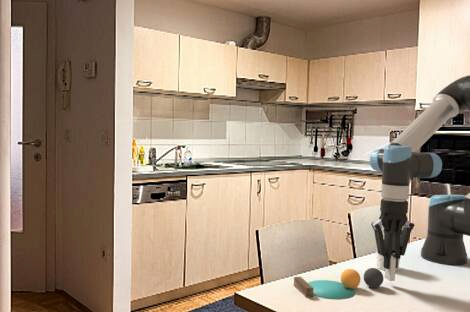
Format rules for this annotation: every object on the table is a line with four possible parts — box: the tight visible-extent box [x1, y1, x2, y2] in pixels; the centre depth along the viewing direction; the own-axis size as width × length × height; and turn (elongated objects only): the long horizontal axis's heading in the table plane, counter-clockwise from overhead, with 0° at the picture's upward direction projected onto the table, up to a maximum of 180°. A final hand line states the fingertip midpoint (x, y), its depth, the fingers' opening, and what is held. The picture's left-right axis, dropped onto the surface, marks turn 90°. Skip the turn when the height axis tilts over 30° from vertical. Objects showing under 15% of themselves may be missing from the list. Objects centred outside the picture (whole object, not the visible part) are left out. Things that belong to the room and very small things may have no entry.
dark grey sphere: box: [363, 267, 384, 289], centre depth 131 cm, size 6×6×6 cm
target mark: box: [307, 279, 356, 300], centre depth 128 cm, size 14×14×1 cm
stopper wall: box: [293, 276, 314, 298], centre depth 126 cm, size 2×9×2 cm, turn 14°
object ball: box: [340, 268, 361, 290], centre depth 129 cm, size 6×6×6 cm
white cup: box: [376, 234, 401, 272], centre depth 149 cm, size 8×8×10 cm
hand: (389, 279), depth 132 cm, fingers closed
